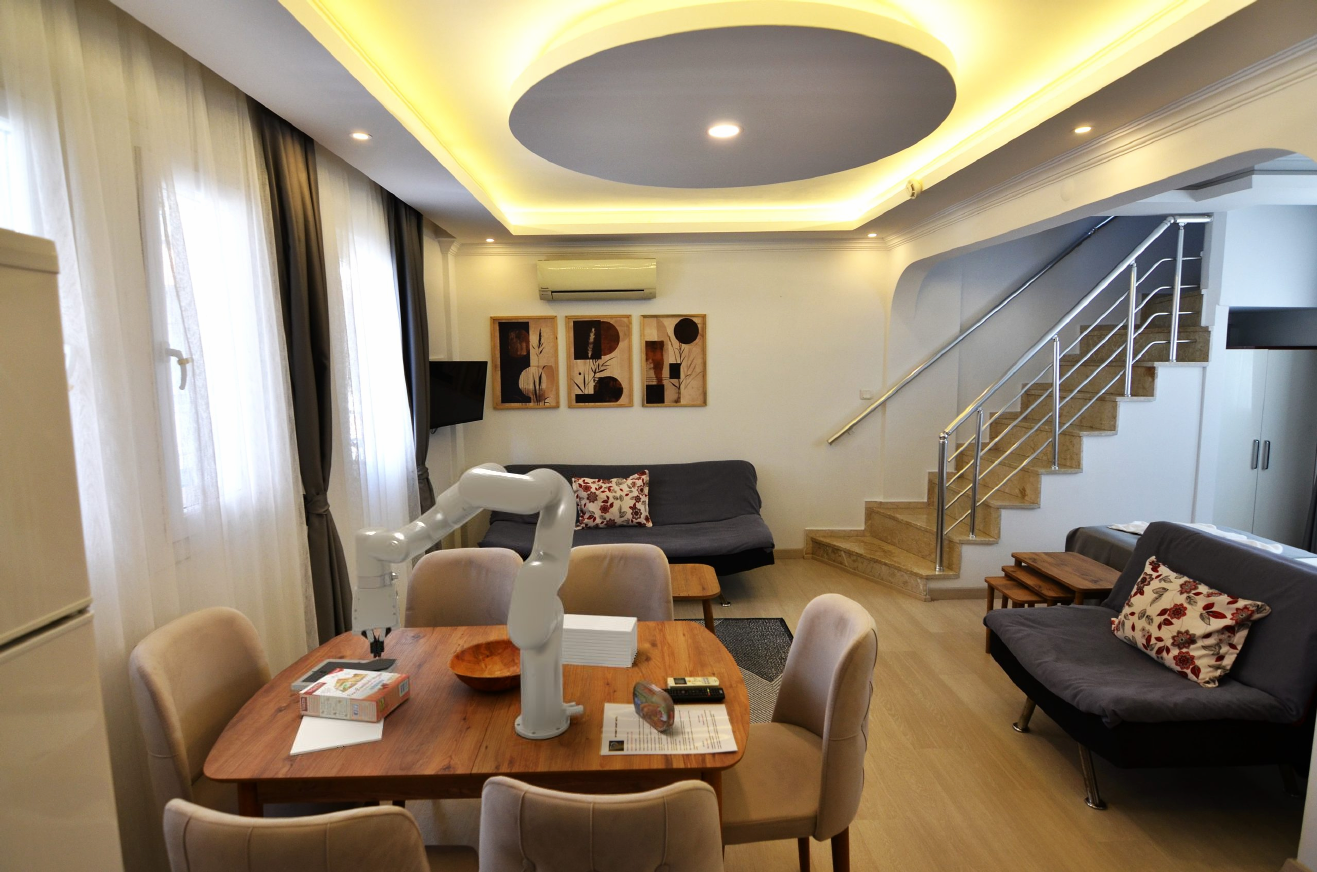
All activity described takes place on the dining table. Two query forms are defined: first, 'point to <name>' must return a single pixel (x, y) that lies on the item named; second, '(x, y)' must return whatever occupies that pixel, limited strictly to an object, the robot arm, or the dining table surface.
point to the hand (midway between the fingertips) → (377, 655)
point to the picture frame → (333, 664)
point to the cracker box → (355, 695)
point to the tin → (653, 705)
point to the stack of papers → (599, 640)
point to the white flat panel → (333, 733)
